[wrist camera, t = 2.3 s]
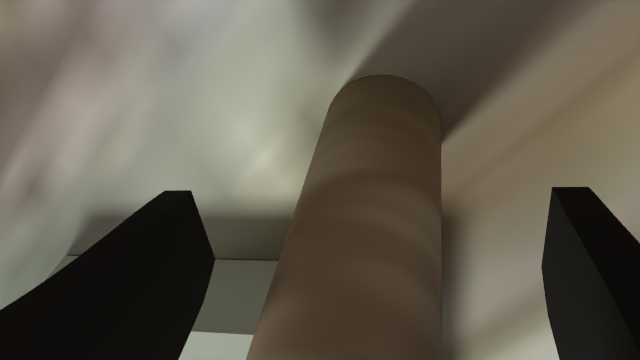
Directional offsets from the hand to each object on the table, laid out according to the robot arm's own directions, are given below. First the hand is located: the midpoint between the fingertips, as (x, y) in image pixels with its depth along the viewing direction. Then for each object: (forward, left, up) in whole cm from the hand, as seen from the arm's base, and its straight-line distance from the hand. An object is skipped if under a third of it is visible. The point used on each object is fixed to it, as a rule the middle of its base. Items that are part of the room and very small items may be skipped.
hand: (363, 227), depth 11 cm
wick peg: (0, 0, -4) cm, 4 cm away
